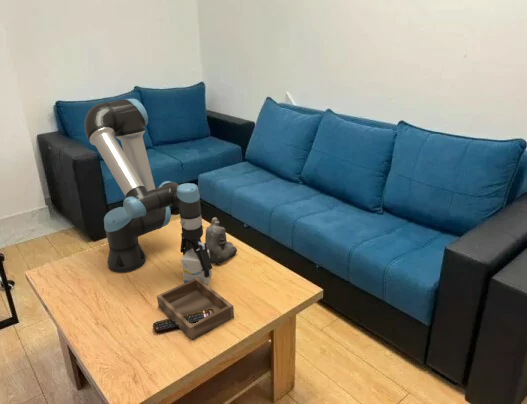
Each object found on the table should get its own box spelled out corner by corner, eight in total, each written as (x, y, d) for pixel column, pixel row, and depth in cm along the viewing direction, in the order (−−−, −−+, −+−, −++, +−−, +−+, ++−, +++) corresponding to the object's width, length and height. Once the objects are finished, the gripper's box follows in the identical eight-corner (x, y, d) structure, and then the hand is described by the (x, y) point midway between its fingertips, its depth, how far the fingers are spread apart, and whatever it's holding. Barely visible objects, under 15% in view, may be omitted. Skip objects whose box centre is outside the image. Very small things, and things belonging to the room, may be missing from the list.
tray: (158, 307, 151) (156, 295, 149) (198, 288, 161) (197, 277, 159) (191, 340, 135) (190, 328, 133) (234, 317, 145) (233, 305, 143)
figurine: (235, 249, 186) (232, 211, 179) (240, 263, 176) (237, 223, 169) (204, 253, 184) (200, 215, 176) (208, 268, 173) (204, 228, 166)
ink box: (205, 287, 161) (202, 261, 156) (183, 285, 163) (180, 259, 158) (212, 274, 169) (209, 248, 164) (191, 273, 170) (188, 247, 166)
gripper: (166, 218, 162) (173, 267, 171) (200, 240, 145) (206, 294, 154) (184, 212, 167) (190, 260, 176) (219, 233, 150) (223, 285, 159)
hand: (197, 276), depth 165 cm, fingers closed on ink box, 11 cm apart
